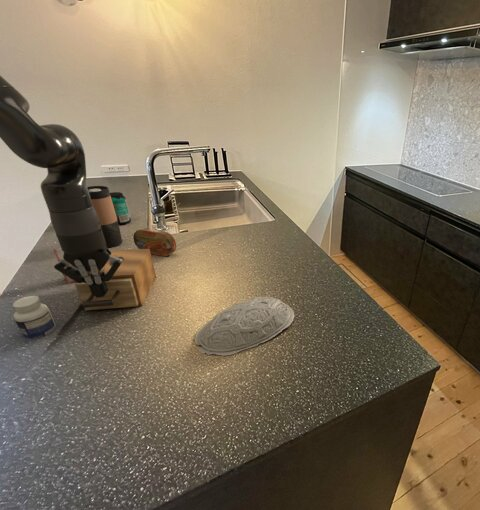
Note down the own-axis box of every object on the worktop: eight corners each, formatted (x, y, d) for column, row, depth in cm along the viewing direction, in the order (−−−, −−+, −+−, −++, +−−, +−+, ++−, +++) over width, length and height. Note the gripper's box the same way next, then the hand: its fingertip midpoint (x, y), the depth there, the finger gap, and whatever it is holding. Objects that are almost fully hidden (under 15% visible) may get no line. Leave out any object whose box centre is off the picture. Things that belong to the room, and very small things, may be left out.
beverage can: (118, 218, 129) (111, 191, 124) (135, 220, 129) (128, 192, 124) (106, 224, 123) (98, 195, 117) (124, 226, 123) (116, 197, 117)
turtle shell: (307, 320, 79) (304, 298, 76) (210, 371, 64) (203, 346, 61) (276, 297, 89) (273, 277, 87) (187, 336, 75) (180, 313, 72)
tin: (135, 250, 106) (129, 228, 102) (142, 247, 108) (137, 225, 105) (173, 258, 103) (168, 235, 99) (179, 254, 106) (175, 232, 102)
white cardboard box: (65, 278, 88) (52, 247, 84) (93, 271, 93) (83, 241, 88) (66, 283, 86) (54, 252, 81) (96, 276, 90) (86, 246, 86)
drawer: (130, 319, 74) (122, 292, 70) (74, 324, 71) (63, 296, 67) (151, 278, 90) (145, 255, 86) (106, 281, 87) (98, 257, 83)
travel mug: (121, 237, 114) (107, 184, 105) (125, 245, 109) (110, 190, 100) (96, 242, 109) (78, 187, 100) (98, 250, 104) (80, 193, 95)
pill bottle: (25, 335, 68) (7, 299, 64) (57, 325, 71) (41, 291, 67) (27, 349, 65) (8, 312, 60) (60, 337, 68) (44, 302, 64)
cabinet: (142, 305, 80) (133, 274, 76) (85, 310, 77) (73, 278, 72) (156, 277, 92) (149, 248, 88) (107, 280, 89) (98, 250, 85)
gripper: (28, 236, 59) (59, 307, 67) (107, 233, 63) (128, 302, 71) (49, 222, 66) (75, 289, 74) (120, 220, 69) (138, 284, 77)
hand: (101, 295), depth 72 cm, fingers closed
